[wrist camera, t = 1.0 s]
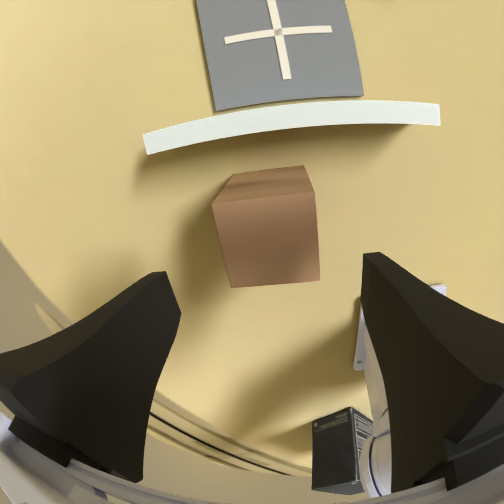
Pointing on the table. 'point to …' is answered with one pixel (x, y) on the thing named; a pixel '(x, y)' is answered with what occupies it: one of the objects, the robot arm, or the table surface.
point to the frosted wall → (291, 120)
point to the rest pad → (278, 50)
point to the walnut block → (268, 227)
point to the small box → (339, 451)
